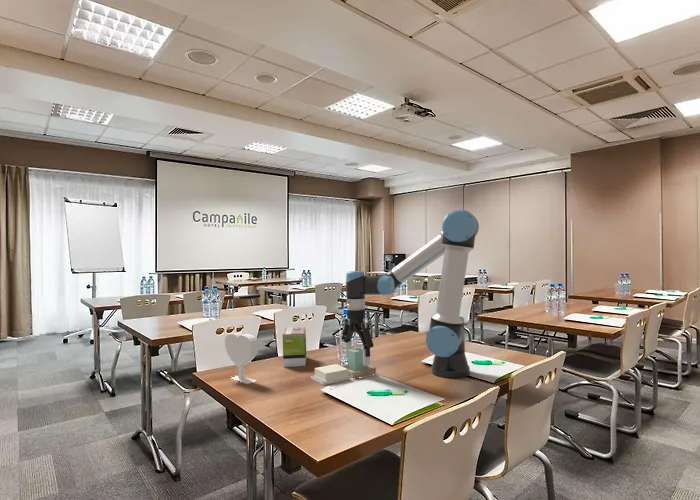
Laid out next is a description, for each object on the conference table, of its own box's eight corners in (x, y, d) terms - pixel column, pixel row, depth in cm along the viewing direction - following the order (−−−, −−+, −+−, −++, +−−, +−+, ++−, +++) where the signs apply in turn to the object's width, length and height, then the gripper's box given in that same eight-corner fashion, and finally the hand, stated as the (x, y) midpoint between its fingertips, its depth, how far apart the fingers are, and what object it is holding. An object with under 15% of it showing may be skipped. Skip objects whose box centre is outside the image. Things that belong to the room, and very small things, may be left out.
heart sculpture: (260, 381, 157) (259, 334, 157) (250, 384, 153) (249, 337, 153) (233, 374, 166) (233, 331, 166) (223, 378, 161) (223, 333, 162)
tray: (375, 374, 162) (375, 368, 162) (353, 379, 156) (353, 372, 156) (360, 368, 172) (360, 362, 172) (338, 372, 166) (338, 366, 166)
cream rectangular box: (350, 379, 156) (349, 369, 156) (322, 385, 150) (322, 374, 150) (337, 373, 165) (337, 363, 165) (310, 378, 159) (310, 368, 159)
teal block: (367, 372, 164) (366, 349, 164) (355, 374, 161) (354, 352, 161) (360, 369, 168) (359, 347, 168) (348, 371, 165) (347, 349, 165)
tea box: (285, 358, 190) (284, 327, 190) (306, 357, 191) (306, 326, 191) (282, 367, 175) (282, 333, 176) (305, 366, 176) (305, 332, 176)
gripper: (332, 306, 173) (334, 356, 173) (365, 313, 152) (367, 369, 152) (347, 305, 177) (349, 353, 177) (381, 311, 156) (383, 366, 156)
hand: (357, 361), depth 164 cm, fingers open, 13 cm apart
